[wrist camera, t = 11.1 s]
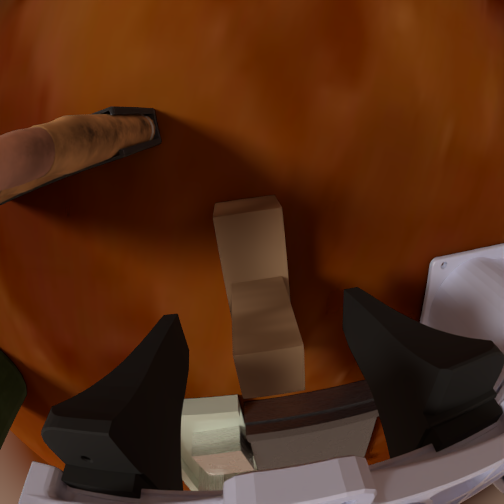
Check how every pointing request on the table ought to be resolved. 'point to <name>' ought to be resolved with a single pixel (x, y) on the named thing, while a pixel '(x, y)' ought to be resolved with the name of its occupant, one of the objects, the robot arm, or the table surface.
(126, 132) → the ammunition clip
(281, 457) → the slot plate
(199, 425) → the tray
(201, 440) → the chip
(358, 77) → the table surface
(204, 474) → the chip
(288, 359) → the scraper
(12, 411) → the wine bottle
